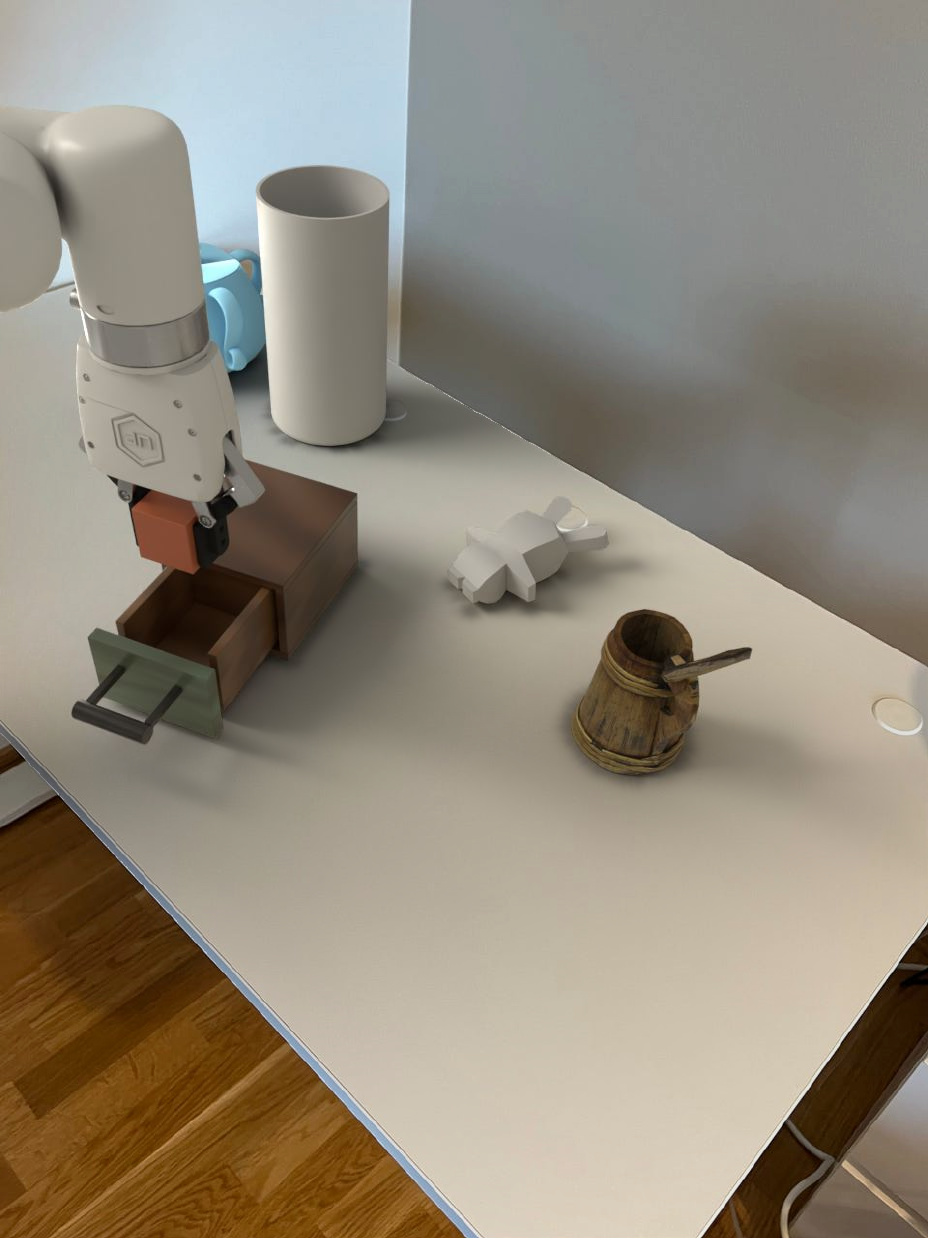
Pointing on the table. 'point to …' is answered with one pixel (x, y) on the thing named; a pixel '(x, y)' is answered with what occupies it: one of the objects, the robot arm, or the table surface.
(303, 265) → the cylinder vase
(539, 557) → the bunny figurine
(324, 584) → the cabinet
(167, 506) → the block
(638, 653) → the wooden mug
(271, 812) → the table surface
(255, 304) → the decorative pot
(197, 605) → the drawer
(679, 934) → the table surface
